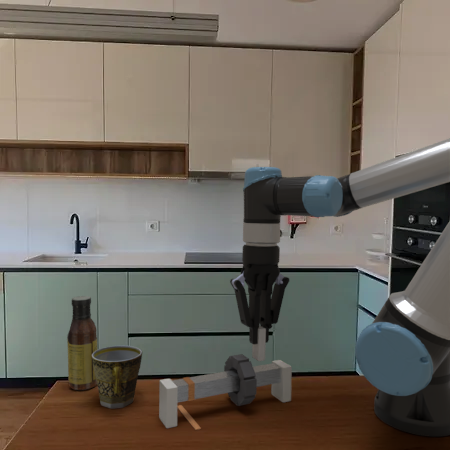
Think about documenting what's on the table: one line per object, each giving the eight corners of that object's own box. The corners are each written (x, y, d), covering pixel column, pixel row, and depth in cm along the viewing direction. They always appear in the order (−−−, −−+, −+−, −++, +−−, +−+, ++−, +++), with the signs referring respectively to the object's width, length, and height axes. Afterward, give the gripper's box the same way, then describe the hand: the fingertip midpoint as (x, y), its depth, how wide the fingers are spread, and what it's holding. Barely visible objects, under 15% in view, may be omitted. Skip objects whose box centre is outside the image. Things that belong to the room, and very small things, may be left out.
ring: (234, 391, 90) (235, 349, 90) (256, 409, 82) (256, 363, 82) (223, 393, 89) (224, 351, 89) (244, 412, 81) (245, 365, 81)
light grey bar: (277, 376, 92) (277, 361, 91) (285, 382, 89) (285, 366, 89) (165, 397, 80) (165, 380, 80) (171, 404, 78) (171, 387, 78)
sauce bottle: (86, 378, 99) (86, 293, 98) (104, 384, 95) (104, 296, 95) (61, 387, 94) (61, 297, 93) (78, 395, 90) (79, 301, 89)
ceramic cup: (92, 393, 91) (93, 346, 91) (140, 389, 94) (140, 343, 93) (89, 422, 78) (89, 369, 78) (144, 416, 81) (144, 364, 81)
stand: (272, 387, 95) (272, 355, 95) (299, 406, 86) (299, 371, 86) (154, 411, 83) (155, 374, 83) (171, 435, 74) (172, 395, 74)
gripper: (278, 242, 93) (275, 349, 94) (224, 243, 87) (222, 357, 88) (298, 245, 86) (295, 360, 87) (241, 246, 81) (238, 369, 81)
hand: (258, 358), depth 88 cm, fingers closed
